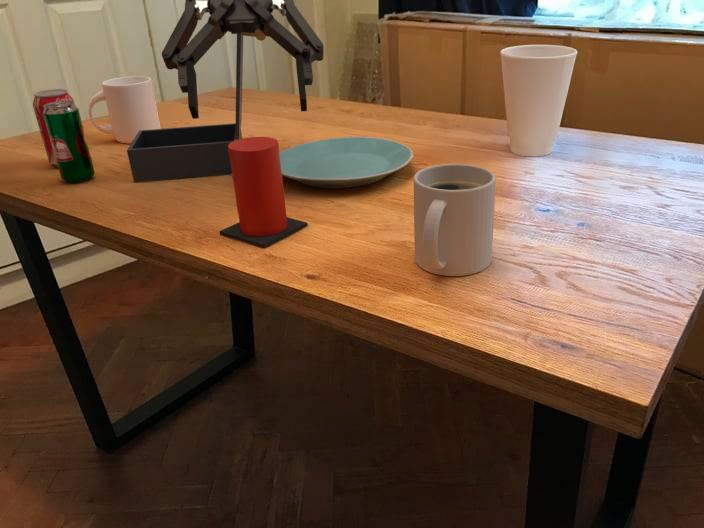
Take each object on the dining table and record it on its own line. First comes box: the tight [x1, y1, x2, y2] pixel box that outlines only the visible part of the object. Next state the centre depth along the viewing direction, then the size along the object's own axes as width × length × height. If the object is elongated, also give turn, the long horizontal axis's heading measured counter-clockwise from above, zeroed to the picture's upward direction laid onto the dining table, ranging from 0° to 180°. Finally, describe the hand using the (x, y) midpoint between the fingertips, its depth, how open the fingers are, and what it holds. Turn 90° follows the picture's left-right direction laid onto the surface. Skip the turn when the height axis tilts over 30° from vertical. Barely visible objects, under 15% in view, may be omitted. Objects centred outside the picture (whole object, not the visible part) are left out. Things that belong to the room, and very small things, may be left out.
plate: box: [279, 136, 414, 189], centre depth 104 cm, size 22×22×3 cm
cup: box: [499, 44, 578, 158], centre depth 107 cm, size 12×12×16 cm
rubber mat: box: [219, 216, 308, 249], centre depth 85 cm, size 8×8×1 cm
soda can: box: [43, 101, 96, 184], centre depth 103 cm, size 5×5×12 cm
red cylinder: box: [228, 136, 288, 237], centre depth 82 cm, size 6×6×11 cm
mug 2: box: [413, 163, 497, 277], centre depth 73 cm, size 11×10×10 cm
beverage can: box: [32, 88, 76, 167], centre depth 111 cm, size 6×6×12 cm
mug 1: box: [87, 75, 162, 145], centre depth 123 cm, size 9×12×11 cm
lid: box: [235, 30, 267, 139], centre depth 104 cm, size 17×12×4 cm
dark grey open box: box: [126, 122, 243, 183], centre depth 108 cm, size 17×12×5 cm
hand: (249, 109), depth 82 cm, fingers open, 13 cm apart
